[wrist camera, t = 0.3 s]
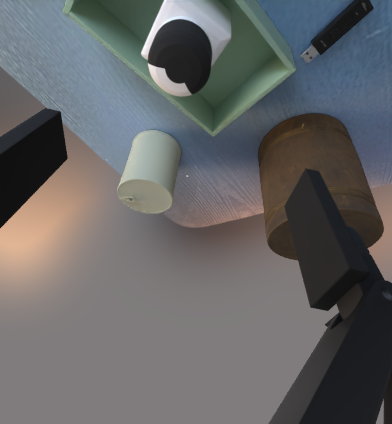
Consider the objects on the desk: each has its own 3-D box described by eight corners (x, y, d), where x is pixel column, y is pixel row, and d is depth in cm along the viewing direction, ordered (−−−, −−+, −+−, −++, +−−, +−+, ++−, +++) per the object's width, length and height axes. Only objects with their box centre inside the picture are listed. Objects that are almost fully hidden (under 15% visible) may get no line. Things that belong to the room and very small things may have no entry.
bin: (83, -9, 30) (62, 11, 26) (144, -157, 21) (126, -157, 18) (215, 111, 41) (213, 137, 37) (289, 45, 32) (296, 70, 29)
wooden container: (299, 187, 54) (320, 292, 41) (241, 159, 49) (244, 268, 36) (368, 139, 43) (425, 261, 30) (303, 95, 38) (339, 220, 25)
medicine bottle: (180, -36, 27) (161, 5, 20) (232, 11, 30) (232, 61, 23) (151, 29, 32) (128, 79, 25) (198, 64, 35) (190, 117, 28)
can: (124, 132, 46) (105, 182, 39) (174, 127, 44) (163, 179, 37) (142, 169, 53) (129, 217, 46) (186, 165, 51) (178, 215, 44)
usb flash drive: (308, 62, 34) (309, 66, 33) (299, 52, 33) (300, 55, 32) (372, 5, 28) (374, 9, 28) (363, -9, 28) (366, -6, 27)
